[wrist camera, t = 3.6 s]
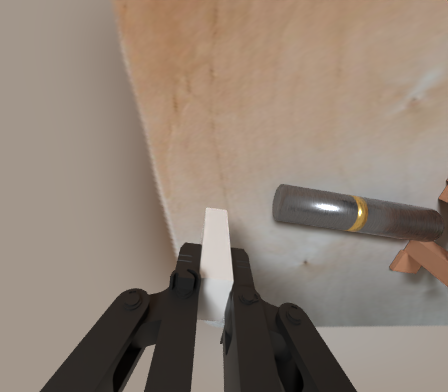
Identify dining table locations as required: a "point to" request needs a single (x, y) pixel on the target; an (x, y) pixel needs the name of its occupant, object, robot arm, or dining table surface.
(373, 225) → the tube
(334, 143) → the dining table surface
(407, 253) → the collar
